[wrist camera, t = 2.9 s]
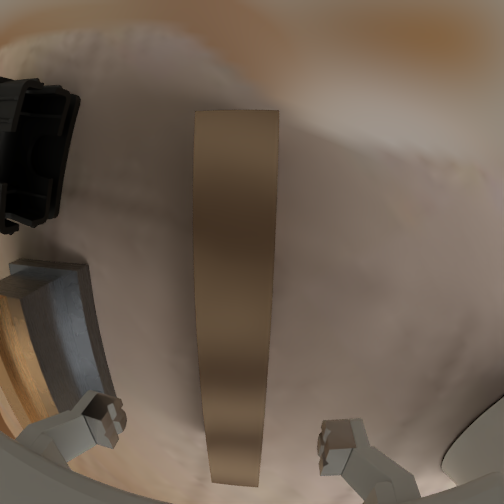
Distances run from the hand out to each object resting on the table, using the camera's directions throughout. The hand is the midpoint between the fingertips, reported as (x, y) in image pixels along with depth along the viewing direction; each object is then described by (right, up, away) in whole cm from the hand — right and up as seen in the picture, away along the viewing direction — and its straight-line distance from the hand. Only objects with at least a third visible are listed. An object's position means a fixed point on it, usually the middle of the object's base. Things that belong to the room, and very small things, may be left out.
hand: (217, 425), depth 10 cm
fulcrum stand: (-14, 0, +11) cm, 18 cm away
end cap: (-15, +14, +7) cm, 22 cm away
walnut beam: (+1, +2, +9) cm, 9 cm away
